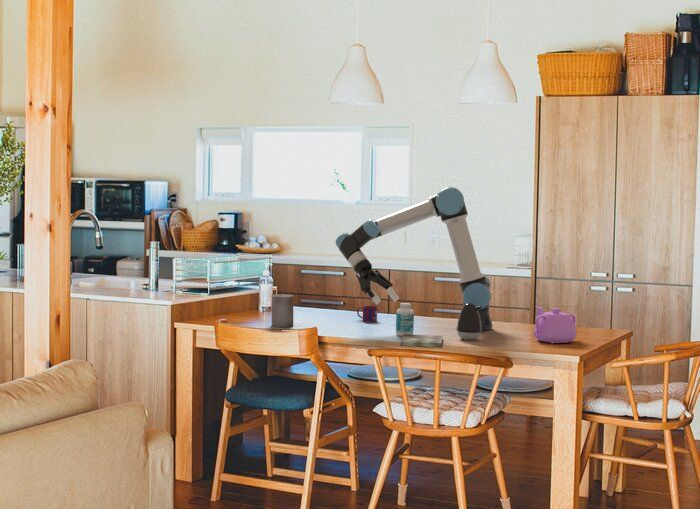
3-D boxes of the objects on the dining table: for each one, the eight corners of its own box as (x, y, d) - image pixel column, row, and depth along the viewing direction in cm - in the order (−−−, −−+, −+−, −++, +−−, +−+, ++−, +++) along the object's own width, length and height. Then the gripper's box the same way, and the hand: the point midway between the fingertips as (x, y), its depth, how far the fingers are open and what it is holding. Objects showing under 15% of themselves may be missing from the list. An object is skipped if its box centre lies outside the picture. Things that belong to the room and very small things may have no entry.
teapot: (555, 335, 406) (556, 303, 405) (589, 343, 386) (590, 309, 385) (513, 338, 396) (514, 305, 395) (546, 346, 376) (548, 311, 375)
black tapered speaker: (475, 342, 382) (476, 305, 381) (452, 339, 387) (453, 303, 386) (485, 339, 390) (486, 302, 389) (462, 336, 396) (463, 300, 395)
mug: (372, 322, 432) (372, 308, 432) (353, 320, 438) (354, 306, 438) (379, 321, 438) (380, 306, 438) (361, 319, 444) (362, 304, 443)
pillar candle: (286, 323, 422) (286, 290, 421) (297, 326, 414) (297, 292, 413) (267, 325, 417) (267, 291, 416) (278, 328, 409) (278, 294, 408)
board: (442, 339, 387) (442, 335, 387) (441, 347, 367) (441, 343, 367) (403, 337, 389) (403, 334, 389) (400, 345, 369) (400, 341, 369)
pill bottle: (400, 337, 391) (400, 304, 390) (392, 334, 398) (393, 302, 397) (416, 336, 394) (417, 304, 393) (408, 333, 401) (409, 302, 400)
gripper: (371, 268, 420) (398, 304, 412) (337, 271, 400) (365, 309, 392) (381, 257, 416) (409, 293, 408) (348, 259, 396) (376, 297, 388)
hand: (387, 301), depth 400 cm, fingers open, 13 cm apart
